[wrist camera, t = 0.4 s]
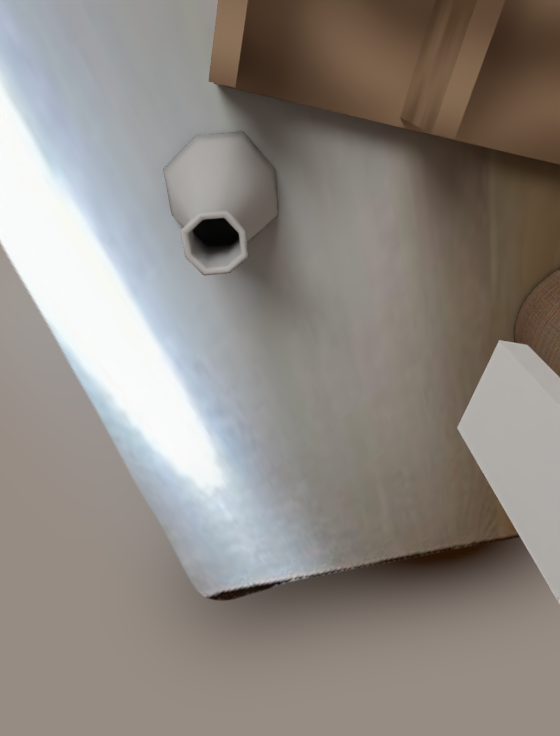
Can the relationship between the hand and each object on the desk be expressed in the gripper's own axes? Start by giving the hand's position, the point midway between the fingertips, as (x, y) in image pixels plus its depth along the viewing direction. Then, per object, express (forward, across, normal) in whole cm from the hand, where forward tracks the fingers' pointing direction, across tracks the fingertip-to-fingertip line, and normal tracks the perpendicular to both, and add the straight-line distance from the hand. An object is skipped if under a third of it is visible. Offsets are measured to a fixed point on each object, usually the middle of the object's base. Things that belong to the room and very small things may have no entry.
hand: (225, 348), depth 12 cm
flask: (+24, -1, -2) cm, 24 cm away
